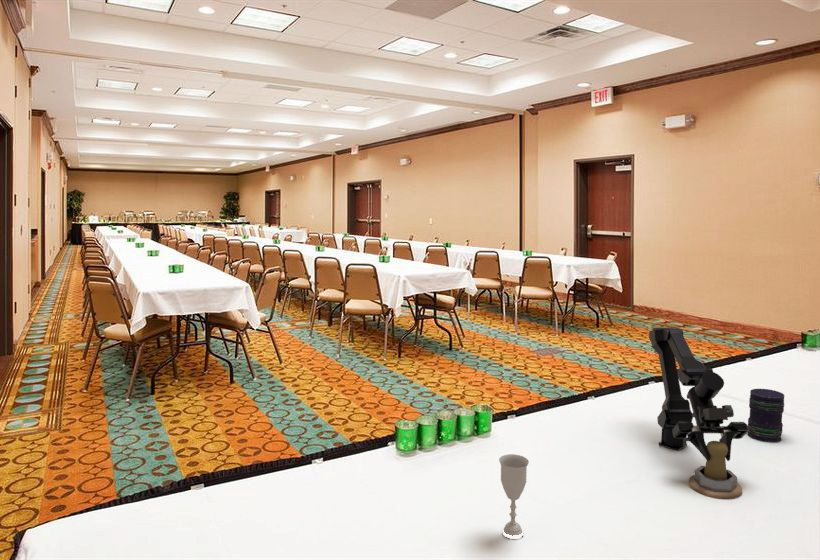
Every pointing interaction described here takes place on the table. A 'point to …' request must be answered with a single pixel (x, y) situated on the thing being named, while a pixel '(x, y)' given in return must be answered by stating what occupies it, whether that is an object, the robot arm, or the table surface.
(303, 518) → the table surface
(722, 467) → the cork
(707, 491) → the coupling socket
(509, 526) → the chalice
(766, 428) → the storage jar
